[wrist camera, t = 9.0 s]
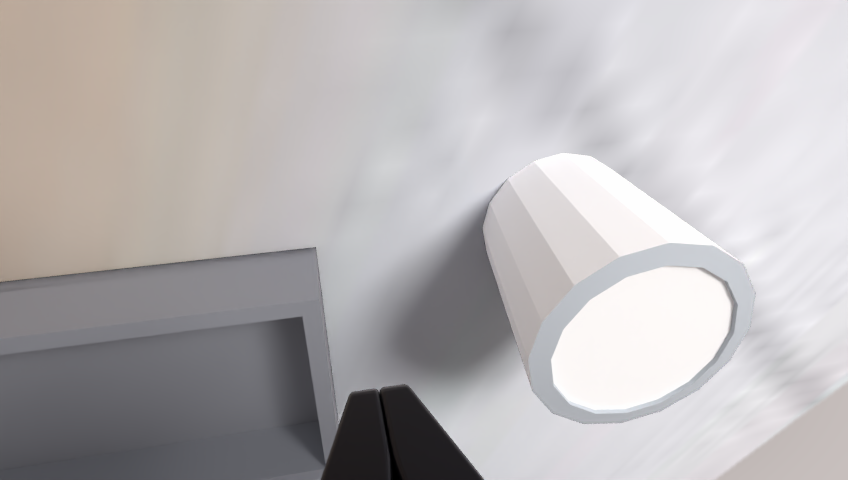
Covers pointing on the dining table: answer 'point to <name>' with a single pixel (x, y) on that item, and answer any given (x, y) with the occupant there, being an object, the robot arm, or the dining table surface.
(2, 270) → the dining table surface
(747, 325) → the shot glass
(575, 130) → the dining table surface
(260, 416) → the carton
